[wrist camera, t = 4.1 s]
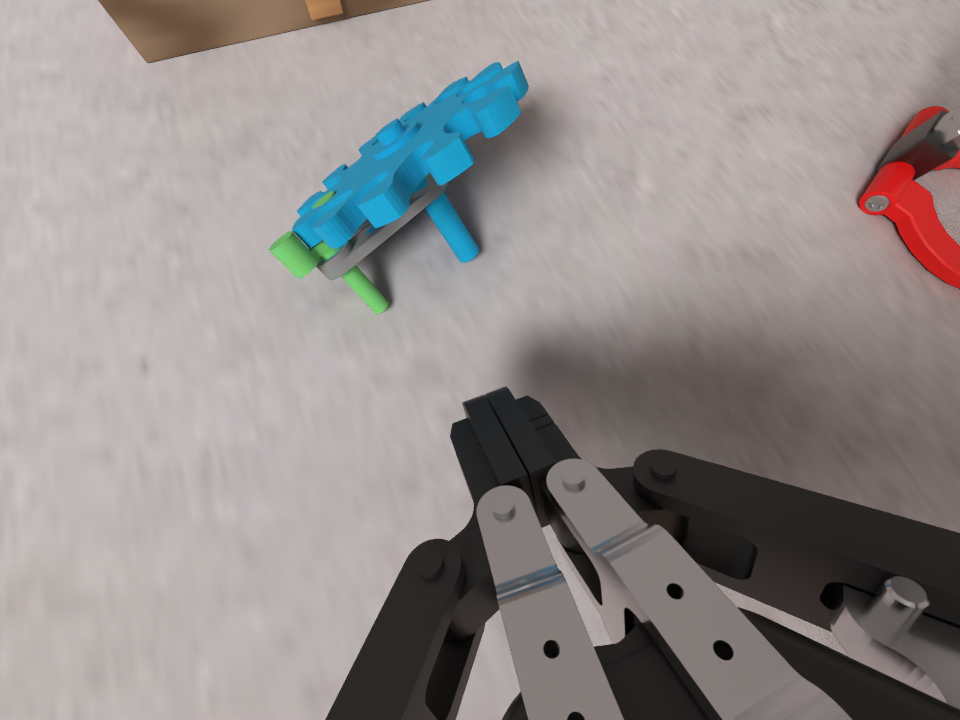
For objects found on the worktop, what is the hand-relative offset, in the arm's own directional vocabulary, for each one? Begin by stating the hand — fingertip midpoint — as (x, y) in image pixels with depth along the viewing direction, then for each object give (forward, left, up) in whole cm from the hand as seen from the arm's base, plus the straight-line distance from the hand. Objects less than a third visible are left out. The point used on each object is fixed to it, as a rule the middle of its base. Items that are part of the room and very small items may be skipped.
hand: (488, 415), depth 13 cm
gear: (+2, -10, -4) cm, 11 cm away
